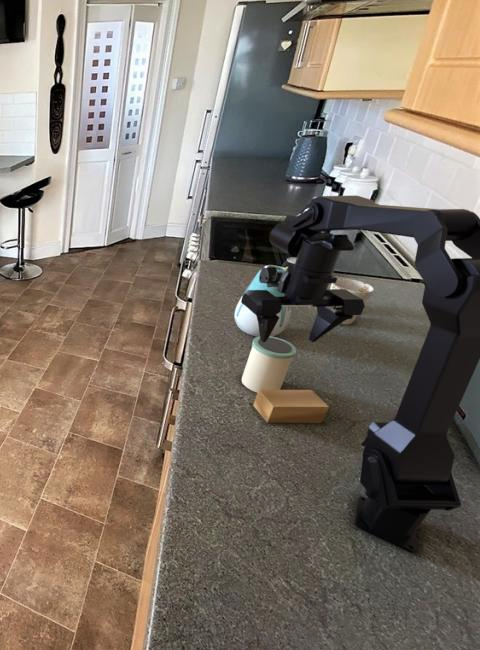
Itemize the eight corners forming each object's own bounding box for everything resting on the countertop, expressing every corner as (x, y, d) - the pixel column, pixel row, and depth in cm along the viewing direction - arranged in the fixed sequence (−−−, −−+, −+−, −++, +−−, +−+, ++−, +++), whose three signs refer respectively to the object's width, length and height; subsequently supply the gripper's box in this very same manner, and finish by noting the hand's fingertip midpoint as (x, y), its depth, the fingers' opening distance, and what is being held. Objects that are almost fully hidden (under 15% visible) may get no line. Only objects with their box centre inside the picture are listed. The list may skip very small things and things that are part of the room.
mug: (365, 328, 110) (381, 293, 106) (310, 324, 113) (323, 290, 108) (347, 312, 118) (361, 279, 113) (295, 309, 120) (307, 276, 115)
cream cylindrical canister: (312, 391, 82) (299, 329, 86) (272, 391, 82) (260, 330, 86) (273, 397, 94) (262, 342, 97) (238, 397, 94) (228, 342, 97)
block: (321, 423, 82) (329, 406, 80) (267, 422, 82) (273, 406, 80) (304, 405, 86) (311, 389, 84) (253, 405, 87) (258, 389, 85)
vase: (256, 317, 117) (276, 255, 109) (294, 338, 107) (320, 272, 99) (220, 323, 115) (237, 261, 106) (256, 346, 105) (279, 279, 96)
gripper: (336, 250, 83) (309, 320, 91) (237, 252, 84) (218, 321, 92) (382, 272, 74) (348, 349, 81) (270, 274, 75) (246, 349, 82)
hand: (287, 341), depth 84 cm, fingers open, 9 cm apart
